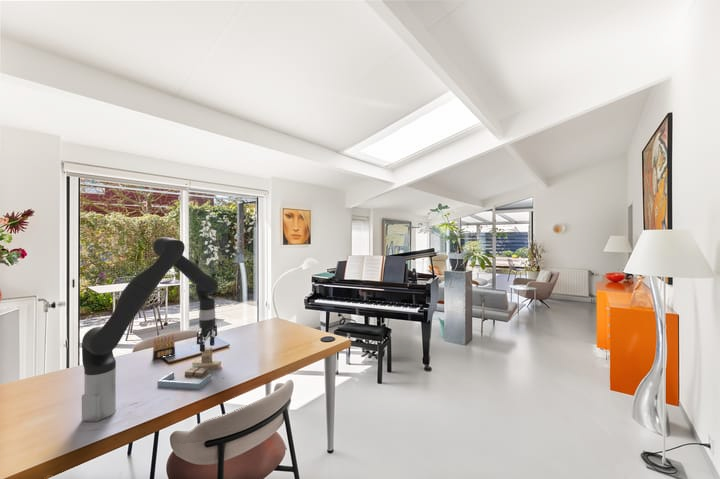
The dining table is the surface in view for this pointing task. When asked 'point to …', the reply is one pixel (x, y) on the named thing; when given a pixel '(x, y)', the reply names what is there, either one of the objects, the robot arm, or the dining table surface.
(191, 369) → the block
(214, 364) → the wooden base with post
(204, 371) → the block
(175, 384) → the tray
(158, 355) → the ammunition clip
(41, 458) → the dining table surface
